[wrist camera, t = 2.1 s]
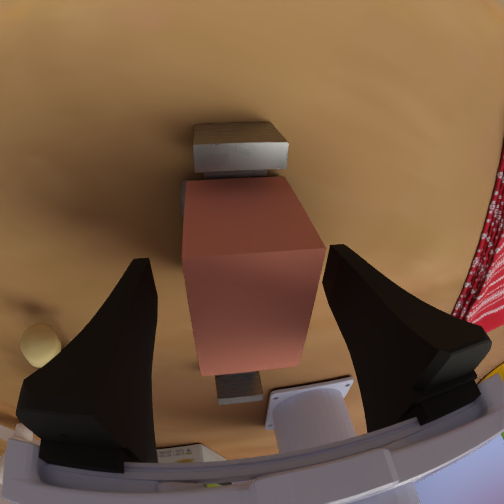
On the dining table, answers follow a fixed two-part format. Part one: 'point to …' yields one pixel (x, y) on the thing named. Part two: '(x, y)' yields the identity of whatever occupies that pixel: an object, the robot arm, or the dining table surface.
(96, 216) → the dining table surface
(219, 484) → the tea box
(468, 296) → the dish towel
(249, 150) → the rail
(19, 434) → the lightbulb
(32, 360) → the plunger
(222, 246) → the block
